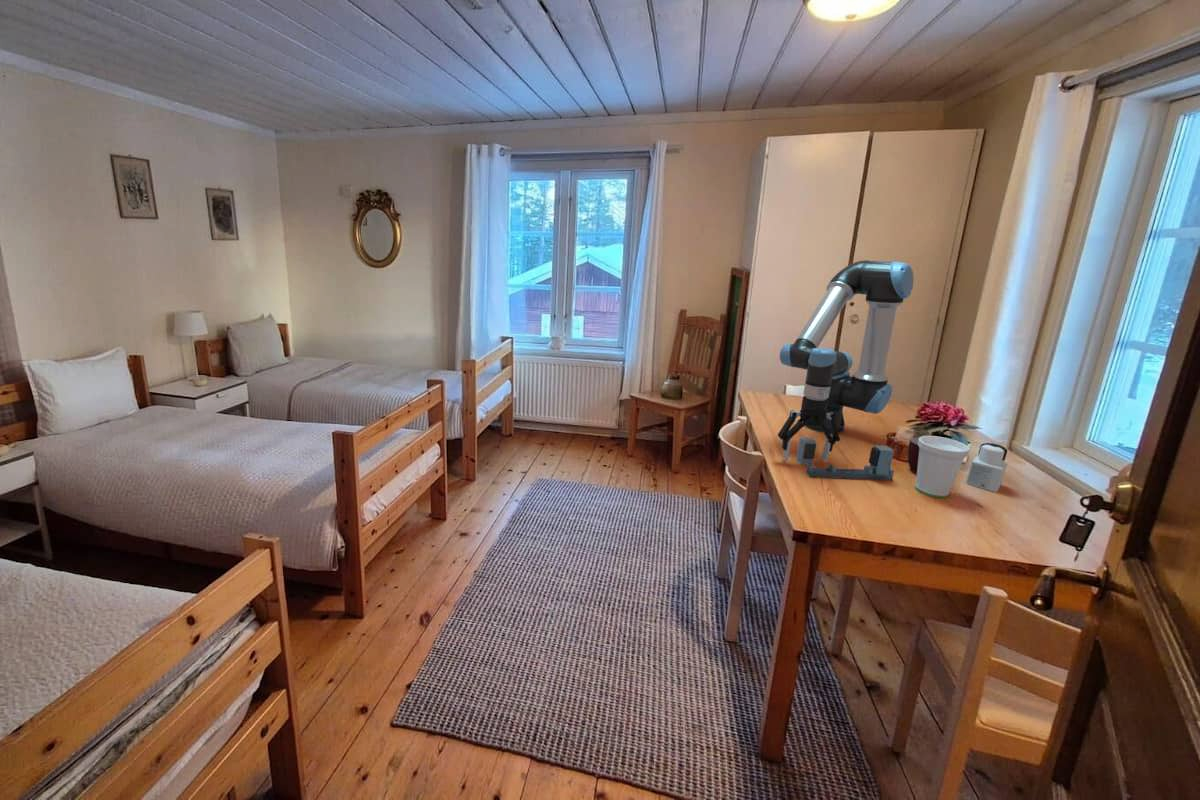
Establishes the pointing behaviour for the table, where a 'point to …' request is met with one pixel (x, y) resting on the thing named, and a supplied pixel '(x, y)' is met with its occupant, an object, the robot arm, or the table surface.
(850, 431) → the table surface
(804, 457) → the finger right
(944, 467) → the cup
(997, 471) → the container
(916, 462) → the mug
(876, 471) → the rail
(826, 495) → the table surface
